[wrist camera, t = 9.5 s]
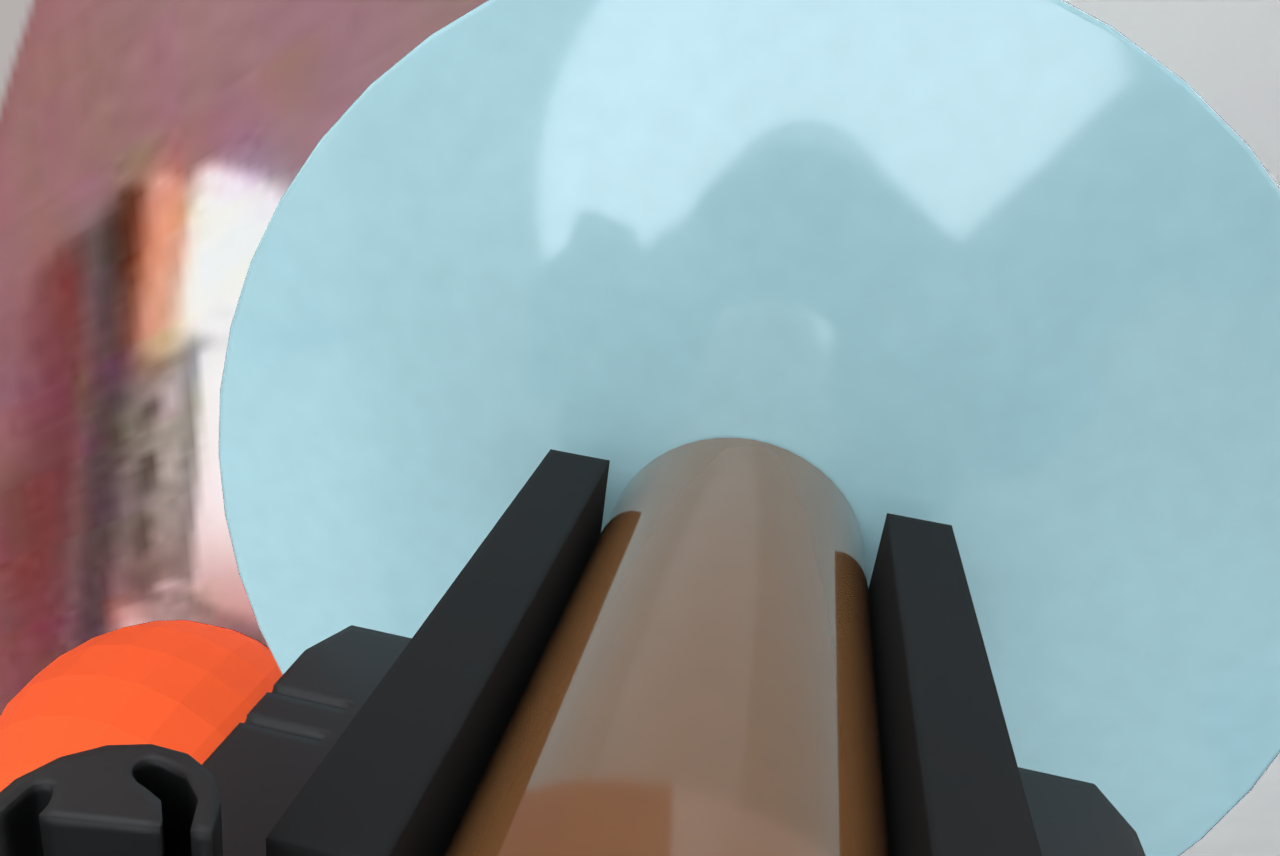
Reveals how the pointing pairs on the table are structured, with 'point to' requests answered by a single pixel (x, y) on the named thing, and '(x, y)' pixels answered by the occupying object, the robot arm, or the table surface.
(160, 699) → the clementine
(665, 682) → the lid
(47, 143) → the table surface
